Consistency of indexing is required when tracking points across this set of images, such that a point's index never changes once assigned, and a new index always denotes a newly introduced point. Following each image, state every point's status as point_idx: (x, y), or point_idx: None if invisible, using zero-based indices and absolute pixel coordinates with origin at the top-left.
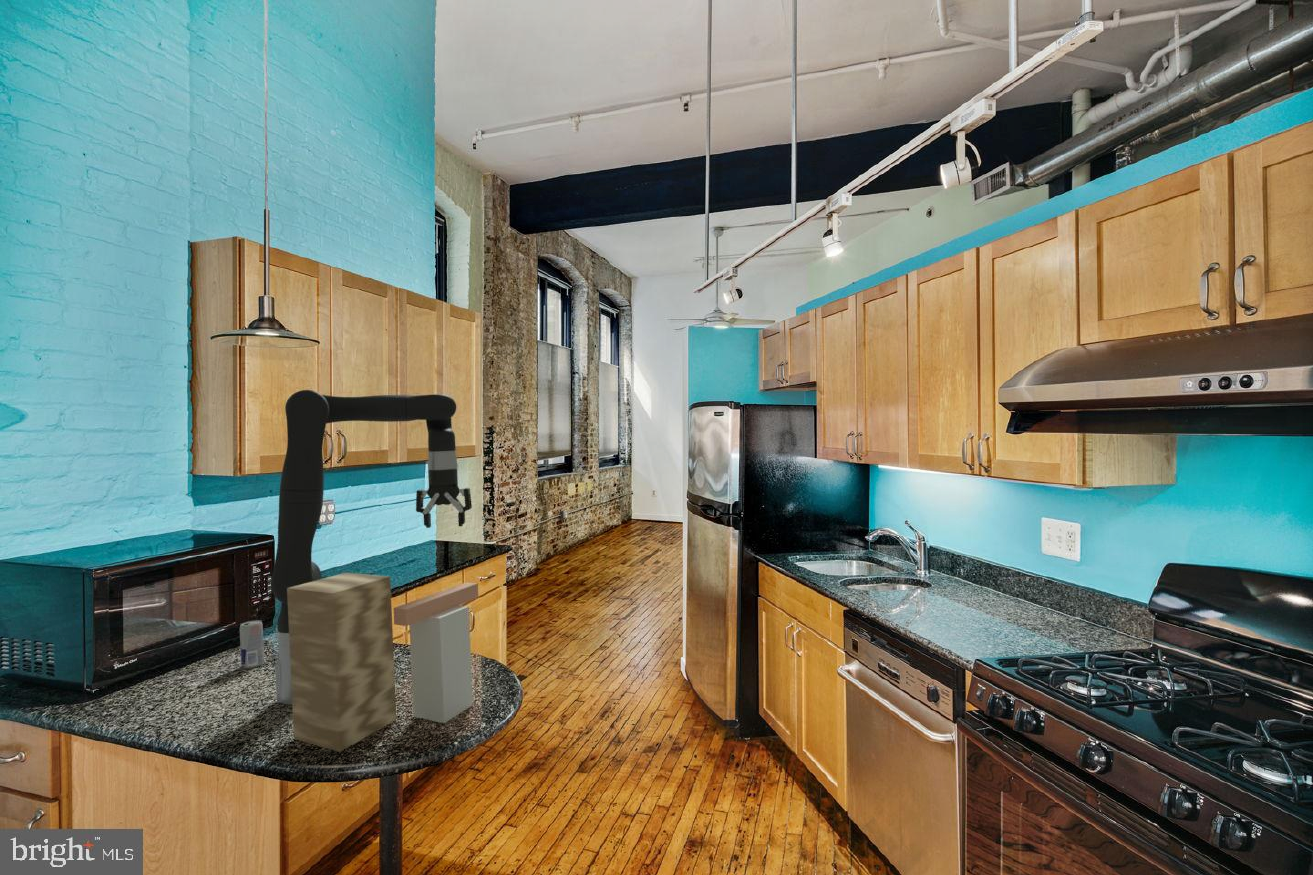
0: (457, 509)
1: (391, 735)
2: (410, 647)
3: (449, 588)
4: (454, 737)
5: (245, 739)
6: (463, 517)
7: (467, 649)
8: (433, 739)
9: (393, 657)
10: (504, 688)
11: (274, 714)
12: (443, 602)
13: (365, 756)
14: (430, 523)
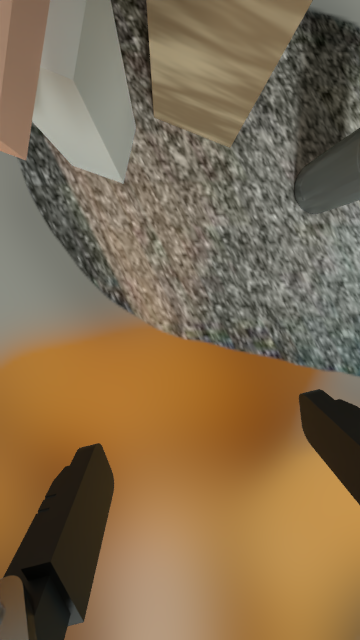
0: (24, 630)
1: (135, 68)
2: (117, 36)
3: (6, 33)
4: None
5: (321, 56)
6: (33, 523)
7: None
8: None
9: (149, 34)
10: (54, 221)
11: (324, 132)
12: None
13: (137, 4)
14: (318, 444)
